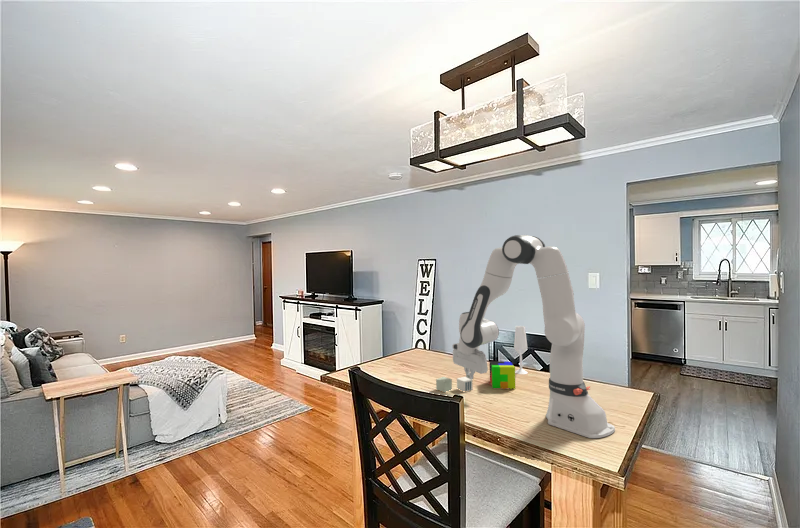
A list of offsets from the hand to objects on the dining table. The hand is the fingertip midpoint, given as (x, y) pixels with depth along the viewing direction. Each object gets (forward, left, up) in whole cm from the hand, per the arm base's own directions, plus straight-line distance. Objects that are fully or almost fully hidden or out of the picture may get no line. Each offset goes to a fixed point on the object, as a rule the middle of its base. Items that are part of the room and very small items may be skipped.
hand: (469, 378), depth 163 cm
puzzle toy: (0, -19, -7) cm, 20 cm away
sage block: (+9, +8, -6) cm, 13 cm away
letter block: (+1, 0, -4) cm, 4 cm away
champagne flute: (+10, -42, -6) cm, 44 cm away
